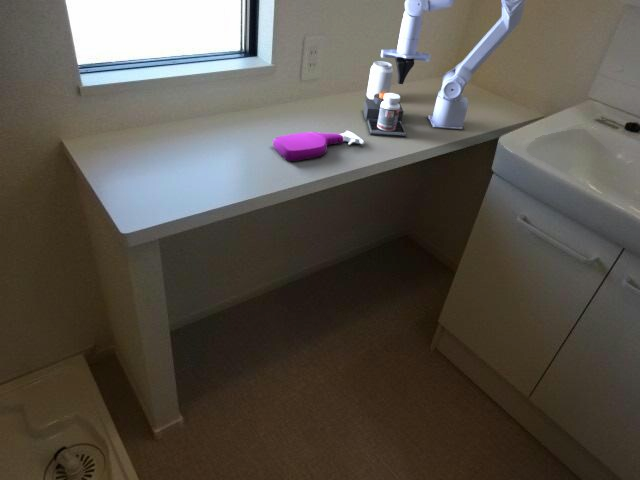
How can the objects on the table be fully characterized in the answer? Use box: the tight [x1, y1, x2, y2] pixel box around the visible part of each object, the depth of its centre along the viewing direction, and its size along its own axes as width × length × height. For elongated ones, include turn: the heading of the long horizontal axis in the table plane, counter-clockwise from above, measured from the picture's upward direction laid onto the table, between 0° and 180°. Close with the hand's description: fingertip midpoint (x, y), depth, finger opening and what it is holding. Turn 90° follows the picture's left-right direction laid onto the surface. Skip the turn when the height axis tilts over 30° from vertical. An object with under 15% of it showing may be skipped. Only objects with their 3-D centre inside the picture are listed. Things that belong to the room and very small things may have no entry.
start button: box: [379, 91, 390, 99], centre depth 151 cm, size 3×3×2 cm
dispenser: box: [363, 93, 404, 122], centre depth 152 cm, size 11×9×6 cm
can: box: [366, 60, 394, 99], centre depth 162 cm, size 8×8×12 cm
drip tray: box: [366, 119, 407, 138], centre depth 145 cm, size 10×9×1 cm
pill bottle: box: [377, 92, 401, 131], centre depth 142 cm, size 6×6×10 cm
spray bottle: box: [272, 130, 365, 162], centre depth 131 cm, size 3×11×24 cm
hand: (400, 83), depth 150 cm, fingers closed
